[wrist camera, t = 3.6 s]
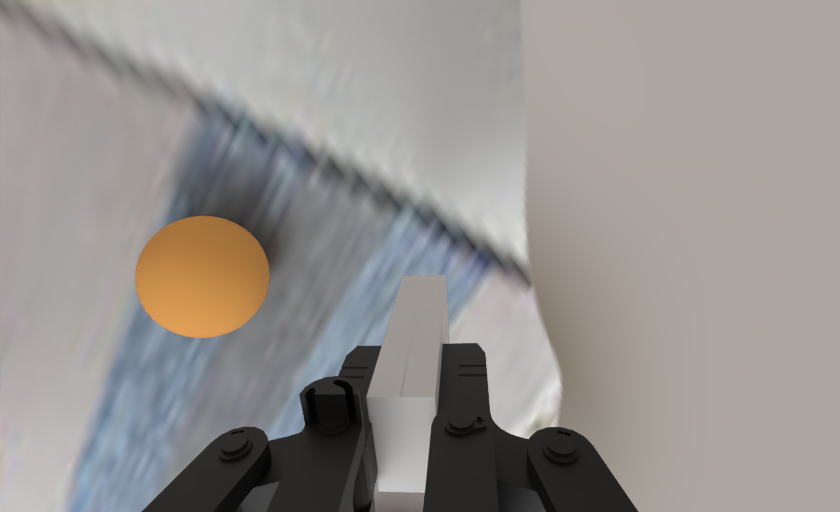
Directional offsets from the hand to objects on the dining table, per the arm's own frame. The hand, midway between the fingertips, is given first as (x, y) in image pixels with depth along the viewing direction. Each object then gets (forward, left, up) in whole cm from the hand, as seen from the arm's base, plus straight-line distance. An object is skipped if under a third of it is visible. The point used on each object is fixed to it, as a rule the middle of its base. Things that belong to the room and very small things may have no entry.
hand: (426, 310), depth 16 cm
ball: (-10, 0, -4) cm, 11 cm away
